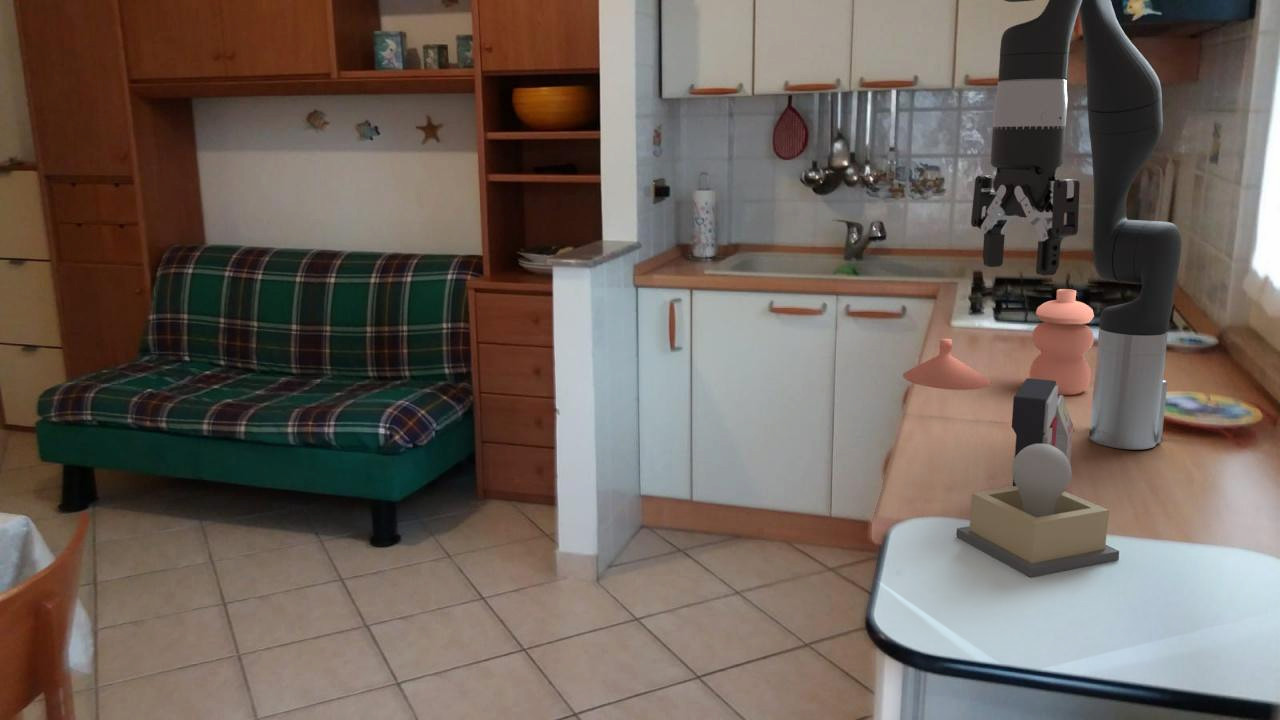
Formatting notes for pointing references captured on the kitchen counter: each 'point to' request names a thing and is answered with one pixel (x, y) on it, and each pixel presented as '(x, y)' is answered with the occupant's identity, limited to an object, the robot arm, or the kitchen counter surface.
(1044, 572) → the bulb holder
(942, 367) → the ceramic vessels
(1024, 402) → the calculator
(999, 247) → the robot arm
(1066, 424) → the grey block
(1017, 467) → the lightbulb
